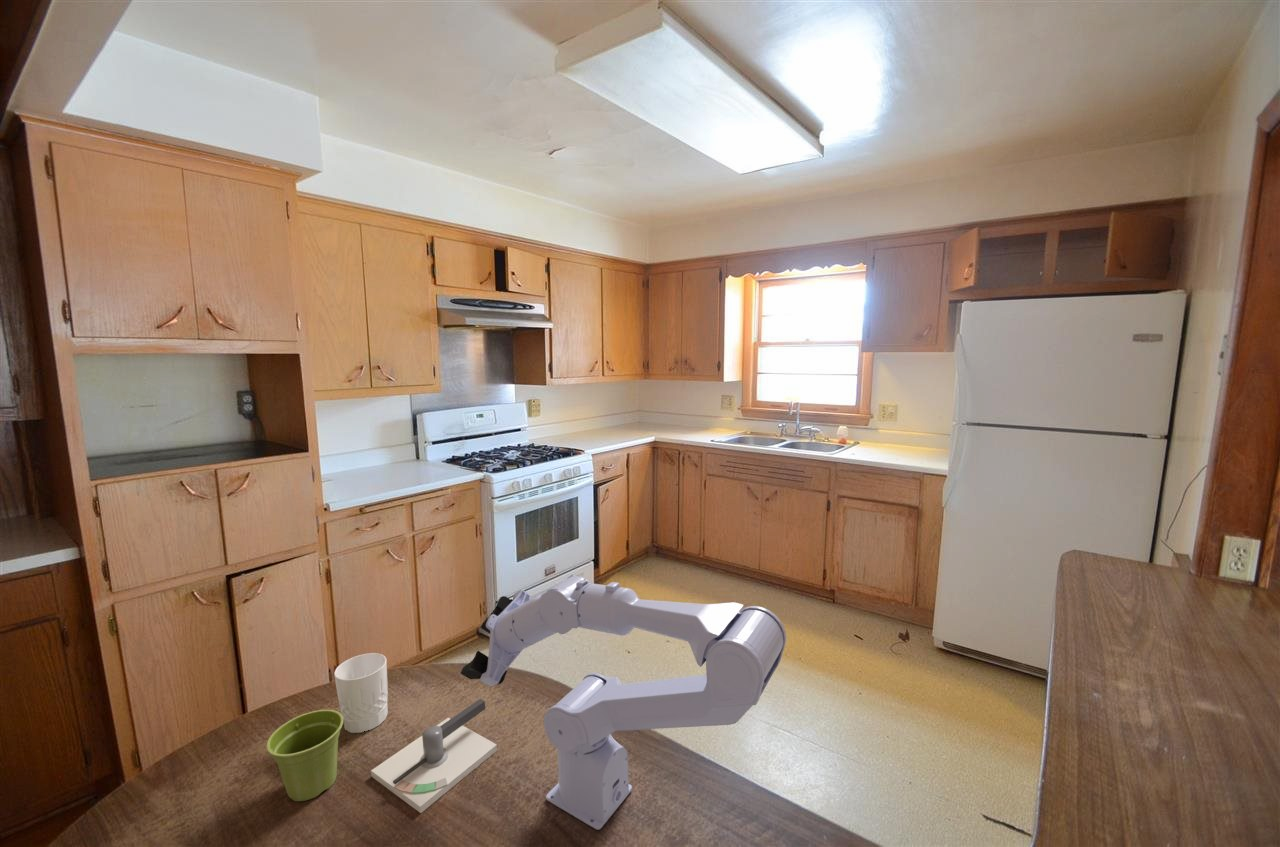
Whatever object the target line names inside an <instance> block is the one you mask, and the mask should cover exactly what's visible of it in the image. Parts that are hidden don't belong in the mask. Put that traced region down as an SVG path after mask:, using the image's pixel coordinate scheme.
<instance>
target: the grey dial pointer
mask: <svg viewBox="0 0 1280 847" xmlns="http://www.w3.org/2000/svg"><path fill="white" fill-rule="evenodd" d="M485 702H486V701H485V700H483V699H481V698H478V699H477V700H476V701H475V702H474V703H472V704H470V705H469V706H468V707H466V708H464V709H463V710H462V711H460V712H459V713H457V714H455V715H454V716H453V717H451V718H450V720H449V721H447V722H446V723H444V724H443V725H441V726H440V727H439V726H437V725H433V726H429V727H426V729H425V730H423V732H422V735H421V736H422V738H423V750H424V759H422V760H421V761H420V762H418V763H417V764H416V765H414V766H413V767H411V768H410V769H409V770H407V771H406V772H405V773H403V774H402V775H401V776H399V777H398V778H396V779H395V780H394V781H393V783H394V784H396V783H398V782H399V781H400V780H402V779H403V778H405V777H406V776H407V775H409V774H410V773H411V772H413V771H414V770H415V769H417V768H418V767H419V766H421V765H422V764H424V763H425V762H426V763H430V764H431V763H436V762H438V761H439V760H441V759H442V758H443V756H444V748H443V739H444V738H446V737H447V736H448V735H450V734H451V733H453V732H454V731H455V730H457V729H458V728H460V727H461V726H462V725H463V726H464V725H465V724H467V722H469V721H470V720H472V719H473V718H475V717H476V716H477V715H479V714H480V713H482V712H483V711H485V710H486V703H485Z"/></svg>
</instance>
